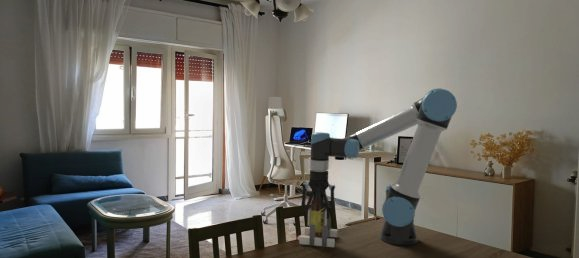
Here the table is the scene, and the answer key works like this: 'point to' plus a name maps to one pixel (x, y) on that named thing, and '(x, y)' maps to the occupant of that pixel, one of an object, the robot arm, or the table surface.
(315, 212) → the sauce bottle
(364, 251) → the table surface
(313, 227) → the grey block structure
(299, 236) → the pad
